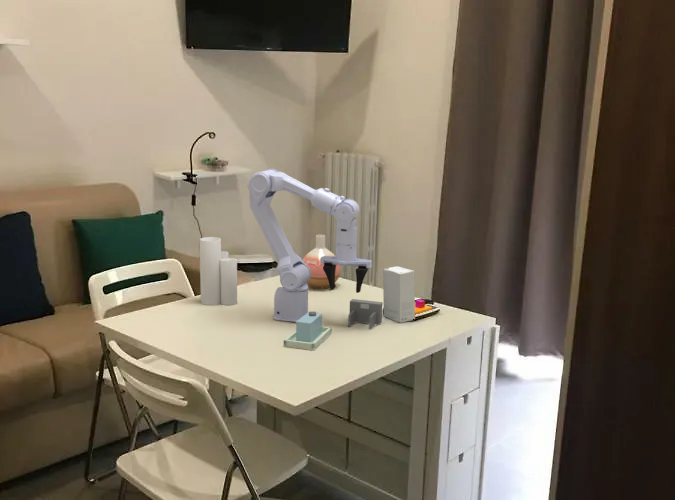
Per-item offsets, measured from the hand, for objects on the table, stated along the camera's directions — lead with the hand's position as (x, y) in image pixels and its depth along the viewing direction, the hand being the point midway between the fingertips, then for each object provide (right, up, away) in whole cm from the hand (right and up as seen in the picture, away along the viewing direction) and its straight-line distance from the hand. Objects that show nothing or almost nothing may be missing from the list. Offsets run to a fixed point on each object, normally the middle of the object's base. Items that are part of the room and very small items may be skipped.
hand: (345, 290), depth 216 cm
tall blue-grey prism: (-10, -12, -11) cm, 19 cm away
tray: (-10, -13, -12) cm, 20 cm away
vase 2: (-8, -1, +42) cm, 42 cm away
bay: (+5, -10, +2) cm, 11 cm away
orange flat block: (+21, -8, +15) cm, 27 cm away
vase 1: (-39, -5, +21) cm, 45 cm away
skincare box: (+16, -9, +9) cm, 20 cm away
